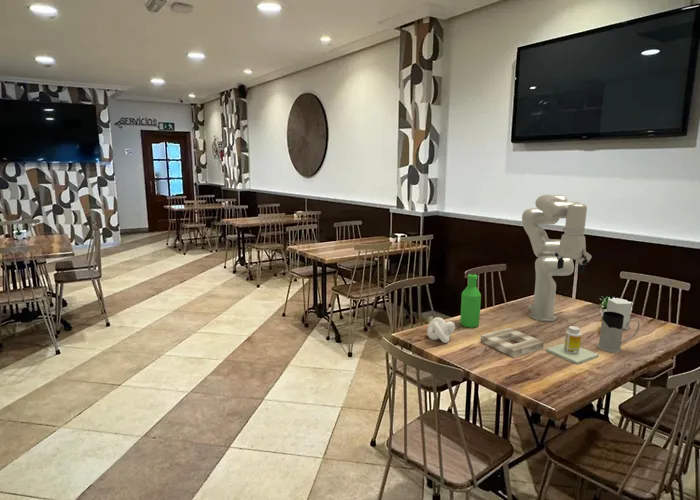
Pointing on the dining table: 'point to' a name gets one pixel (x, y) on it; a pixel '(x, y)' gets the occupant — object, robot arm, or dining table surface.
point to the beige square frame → (499, 342)
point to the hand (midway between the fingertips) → (570, 270)
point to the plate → (572, 354)
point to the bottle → (470, 303)
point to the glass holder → (612, 332)
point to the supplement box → (620, 309)
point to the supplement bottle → (572, 340)
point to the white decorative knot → (440, 329)
